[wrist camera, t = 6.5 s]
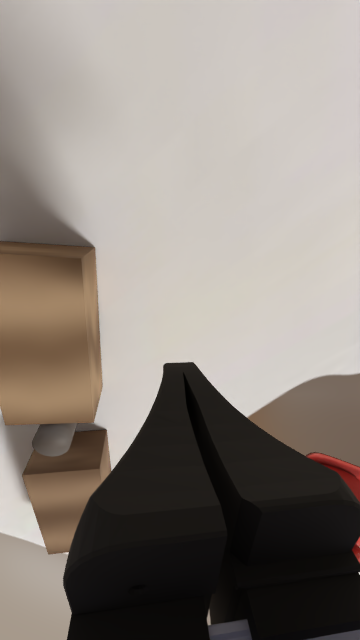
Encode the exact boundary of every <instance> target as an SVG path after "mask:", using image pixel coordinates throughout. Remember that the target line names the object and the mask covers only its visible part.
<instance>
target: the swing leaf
mask: <svg viewBox="0 0 360 640" xmlns="http://www.w3.org/2000/svg"><path fill="white" fill-rule="evenodd" d="M101 391H102V368H101V350H100V331H99V312H98V293H97V274H96V256H95V247H81V246H66V245H50V244H35V243H20V242H4V241H0V407H1V411H2V414H3V418H4V422H5V425H26V424H40V426H39V428H38V431H37V433H36V435H35V437H34V439H33V441H32V445H33V448H34V449H35V450H36V451H37V452H38V453H40V454H42V455H45V456H51V457H54V456H60V455H62V454H64V453H66V452H67V451H68V450H69V448H70V445H71V442H72V439H73V436H74V432H75V429H76V426H77V423H94V419H95V415H96V411H97V407H98V403H99V399H100V395H101Z"/></svg>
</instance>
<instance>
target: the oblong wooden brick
mask: <svg viewBox="0 0 360 640" xmlns="http://www.w3.org/2000/svg"><path fill="white" fill-rule="evenodd" d="M110 473H111V465H110V456H109V447H108V437H107V430H97V431H81V432H74V436H73V439H72V442H71V445H70V448H69V450H68V451H67V452H66V453H64V454H62V455H60V456H54V457H51V456H45V455H42V454H40V453H38V452H37V451H36V450H35V449H34V451H33V453H32V455H31V457H30V459H29V461H28V464H27V466H26V468H25V470H24V472H23V474H22V477H23V480H24V483H25V486H26V489H27V492H28V495H29V498H30V501H31V504H32V507H33V510H34V513H35V516H36V519H37V522H38V525H39V528H40V531H41V534H42V537H43V540H44V543H45V546H46V549H47V552H48V554H56V553H64V552H69V550H70V546H71V543H72V540H73V537H74V534H75V531H76V528H77V525H78V523H79V521H80V518H81V516H82V513H83V511H84V509H85V507H86V504H87V502H88V500H89V498H90V496H91V495H92V494H93V493H94V491H95V490H96V489H97V488H98V487H99V486H100V484H101V483H102V482H103V481H104V480H105V479H106V477H107V476H108V475H109V474H110Z"/></svg>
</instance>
